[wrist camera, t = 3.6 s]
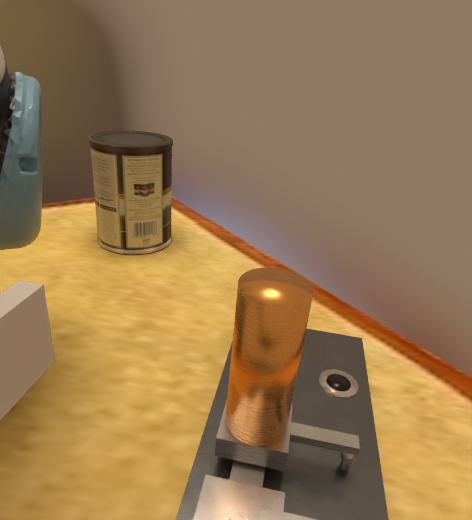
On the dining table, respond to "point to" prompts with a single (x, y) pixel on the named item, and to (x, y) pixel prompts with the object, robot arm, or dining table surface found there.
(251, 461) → the sliding jaw
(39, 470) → the dining table surface
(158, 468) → the dining table surface
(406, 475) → the dining table surface
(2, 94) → the robot arm
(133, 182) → the coffee can
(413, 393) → the dining table surface
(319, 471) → the plate
